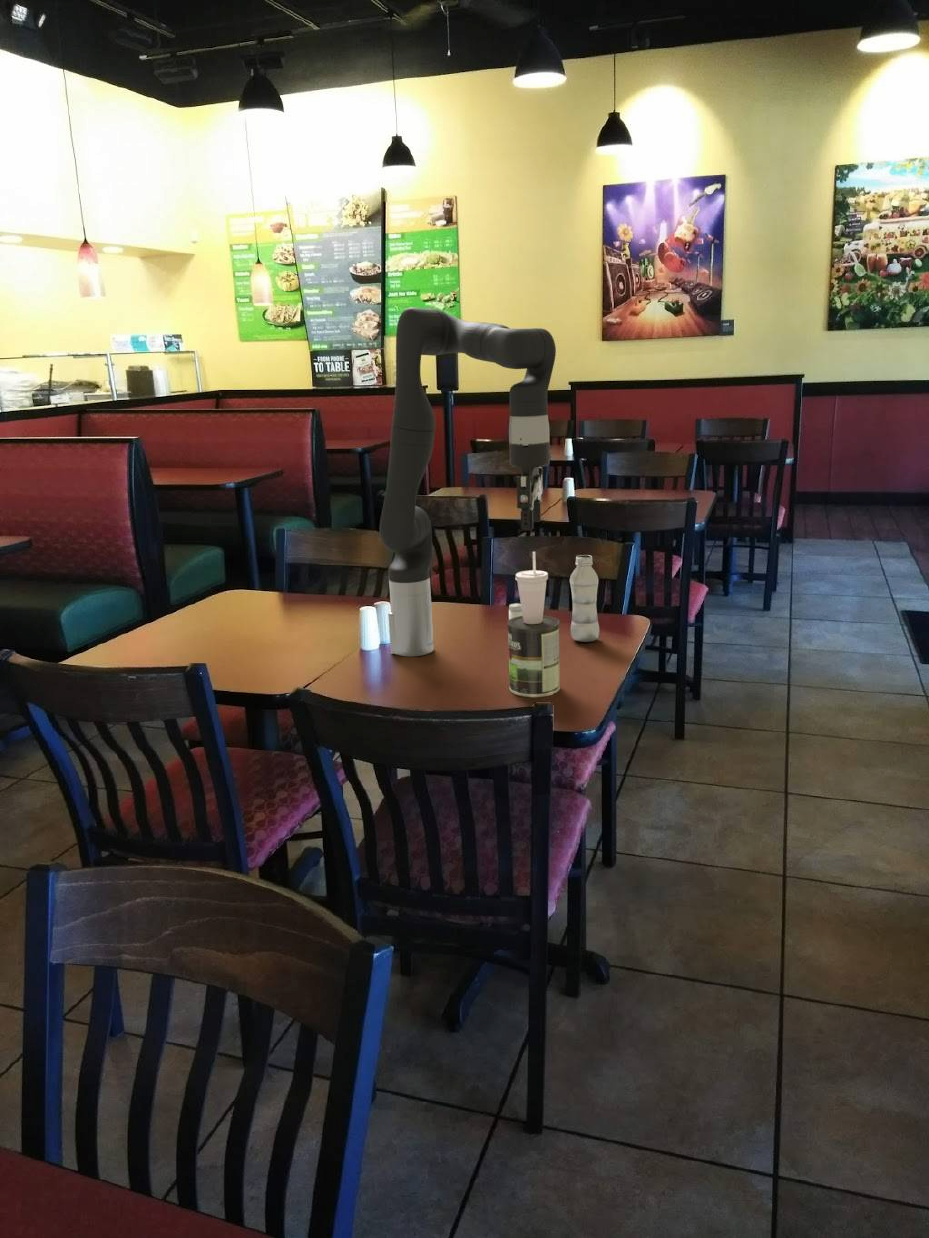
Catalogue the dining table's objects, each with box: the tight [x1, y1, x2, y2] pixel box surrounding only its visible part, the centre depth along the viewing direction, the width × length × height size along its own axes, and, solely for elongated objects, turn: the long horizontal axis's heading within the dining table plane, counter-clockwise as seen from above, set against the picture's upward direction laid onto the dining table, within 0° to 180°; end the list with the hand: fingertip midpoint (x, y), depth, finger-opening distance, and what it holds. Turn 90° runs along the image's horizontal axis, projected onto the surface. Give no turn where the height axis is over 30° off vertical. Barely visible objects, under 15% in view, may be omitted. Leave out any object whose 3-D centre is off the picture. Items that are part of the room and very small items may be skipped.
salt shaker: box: [508, 603, 523, 621], centre depth 220 cm, size 4×4×8 cm
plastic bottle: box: [569, 554, 600, 643], centre depth 214 cm, size 6×7×20 cm
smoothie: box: [515, 551, 549, 624], centre depth 182 cm, size 6×6×14 cm
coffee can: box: [506, 614, 561, 698], centre depth 186 cm, size 10×10×14 cm
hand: (531, 525), depth 179 cm, fingers open, 8 cm apart
